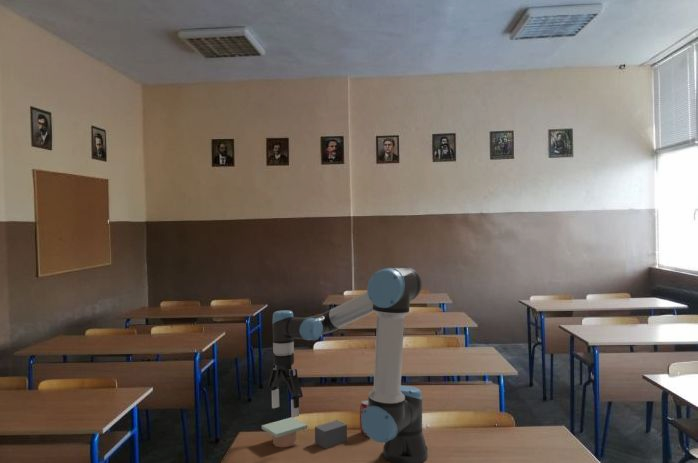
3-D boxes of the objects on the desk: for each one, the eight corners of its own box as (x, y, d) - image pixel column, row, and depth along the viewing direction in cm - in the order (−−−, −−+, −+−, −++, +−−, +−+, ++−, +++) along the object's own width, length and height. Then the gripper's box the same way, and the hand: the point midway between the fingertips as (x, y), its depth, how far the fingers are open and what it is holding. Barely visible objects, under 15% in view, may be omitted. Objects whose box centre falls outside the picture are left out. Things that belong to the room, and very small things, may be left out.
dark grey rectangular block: (346, 441, 181) (346, 424, 181) (324, 448, 175) (324, 431, 175) (337, 436, 186) (336, 420, 186) (315, 443, 179) (314, 426, 179)
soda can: (379, 437, 184) (378, 405, 184) (360, 437, 184) (359, 405, 185) (378, 430, 191) (378, 398, 191) (360, 430, 191) (359, 398, 192)
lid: (307, 428, 181) (307, 425, 181) (276, 437, 172) (276, 434, 172) (291, 420, 189) (291, 417, 189) (261, 428, 181) (261, 425, 181)
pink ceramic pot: (300, 442, 180) (300, 429, 180) (280, 449, 175) (280, 435, 175) (288, 435, 186) (288, 422, 186) (268, 441, 181) (268, 428, 181)
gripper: (311, 357, 174) (313, 418, 173) (275, 346, 193) (276, 401, 193) (293, 360, 169) (294, 423, 168) (258, 349, 188) (259, 406, 188)
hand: (285, 412), depth 180 cm, fingers open, 13 cm apart
